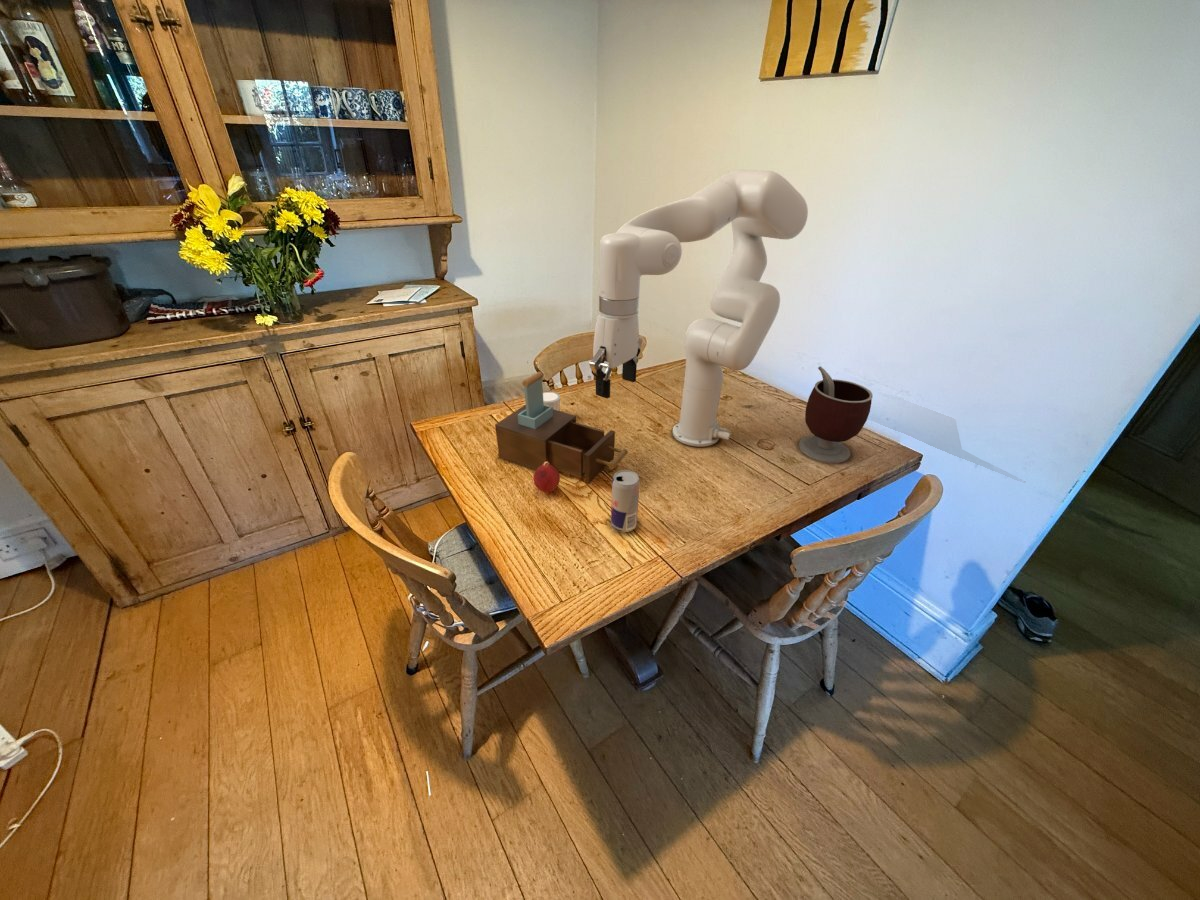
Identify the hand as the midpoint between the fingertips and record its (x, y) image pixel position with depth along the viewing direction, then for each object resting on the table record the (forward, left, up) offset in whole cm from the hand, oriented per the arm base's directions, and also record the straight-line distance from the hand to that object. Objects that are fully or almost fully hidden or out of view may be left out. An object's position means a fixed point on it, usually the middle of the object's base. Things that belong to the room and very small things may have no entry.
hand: (616, 388), depth 96 cm
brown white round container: (+30, -17, -23) cm, 41 cm away
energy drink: (-9, +13, -23) cm, 29 cm away
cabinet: (+22, 0, -23) cm, 32 cm away
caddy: (+22, 0, -14) cm, 26 cm away
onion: (+11, +12, -23) cm, 28 cm away
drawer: (+7, 0, -22) cm, 23 cm away
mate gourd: (-41, -39, -23) cm, 61 cm away
